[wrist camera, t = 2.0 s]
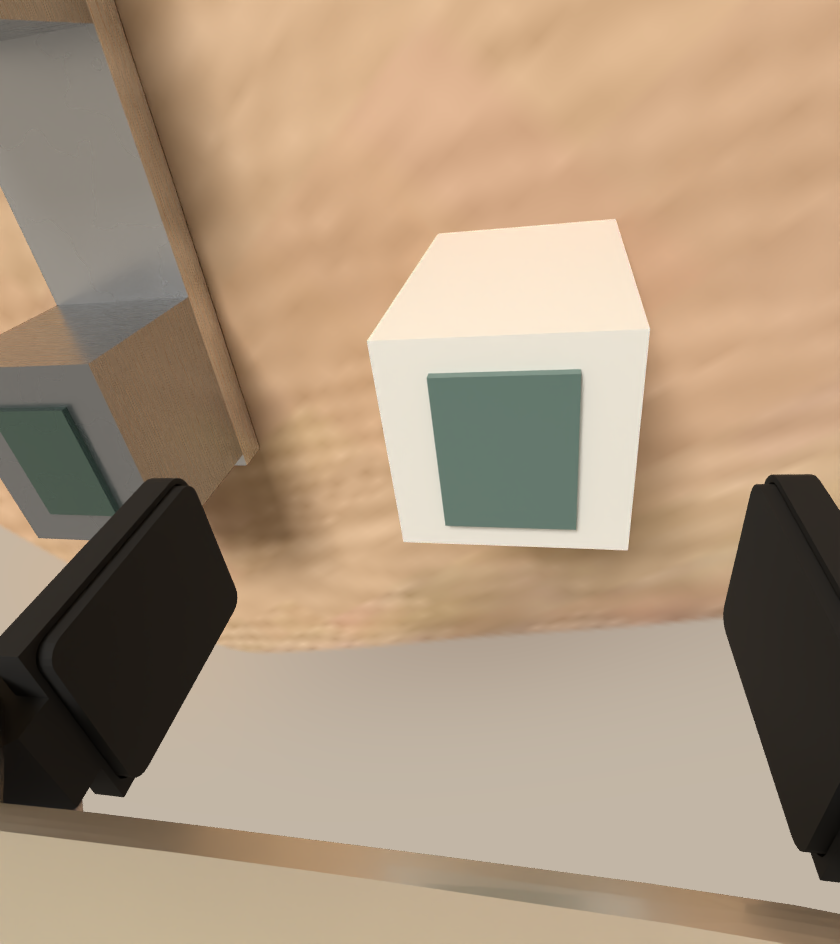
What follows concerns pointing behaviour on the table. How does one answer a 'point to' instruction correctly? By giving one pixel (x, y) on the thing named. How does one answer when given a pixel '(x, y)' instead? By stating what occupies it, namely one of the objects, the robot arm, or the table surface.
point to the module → (515, 388)
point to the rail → (102, 286)
